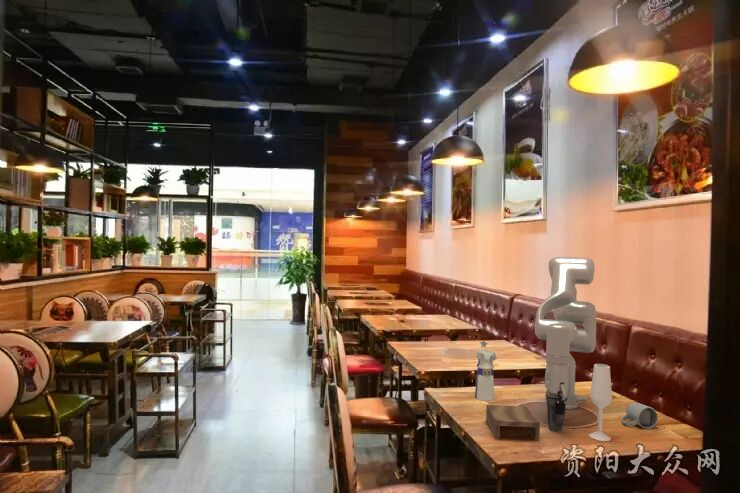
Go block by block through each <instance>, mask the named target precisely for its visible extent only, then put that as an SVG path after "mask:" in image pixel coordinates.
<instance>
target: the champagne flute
mask: <svg viewBox="0 0 740 493" xmlns="http://www.w3.org/2000/svg"><path fill="white" fill-rule="evenodd" d="M611 377H612V376H611V366H609V365H608V364H603V363H595V364H594V365H593V371H592V379H591V386H590V394H589V398H590V400H591V402H592V403H593V404H594V406H595V407H597V408H598V416H597V417H598V420H597V421H598V422H597V423H598V425H597V426H598V427H597V431H593V432H591V433H589V434H588V436H589V437H590V438H591V439H594V440H596V441H600V442H608V441H611V440H612V438H611V437H610V436H609V435H608V434H606V433H604V431H603V413H604V412H603V410H604V409H605V408H607V407H608V406H610V404H611V403H612V401H613V395H612V380H611Z"/></svg>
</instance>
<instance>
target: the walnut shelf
mask: <svg viewBox="0 0 740 493" xmlns="http://www.w3.org/2000/svg"><path fill="white" fill-rule="evenodd" d="M485 407H486V410H485V411H486V415H485V422H486V424H487V425H488V427H489V430H490V431H491V433H492V435H493V437H494V438H495V440H500V439H501V435H500V434H501V427H523V428H525V429H526V431H527V432H528V433H529V435H530V436H531V437H532V438H533V440H534V441H535V442H540V429H541V428H540V427H541V425H540V422H539V420H538V419H537V418H536V416H535V415H534V414H533V413H532V412H531V410H530V409H528V407H527V406H525V405H524V406H523V405H521V406H520V405H501V404H500V405H499V404H486V406H485Z"/></svg>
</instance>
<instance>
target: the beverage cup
mask: <svg viewBox="0 0 740 493" xmlns="http://www.w3.org/2000/svg"><path fill="white" fill-rule="evenodd" d="M558 393H561V392H558ZM544 395H545V399H546V401H547V404H546V407H547V424H548V426H547V427H548V430H550V431H551V432H556V433H562V432H563V429H564V423H565V421H564V420H565V415H556V414H555V402H556V394H552V393H551V392H550V391H549V389H546V391H545V394H544ZM558 397H561V396H558ZM567 399H568V397H566V403H567ZM566 403H565V407H566Z"/></svg>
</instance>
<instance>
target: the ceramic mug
mask: <svg viewBox="0 0 740 493" xmlns="http://www.w3.org/2000/svg"><path fill="white" fill-rule="evenodd" d="M625 413H626V414H625V415H623V416H622V417H621V423H622V425H624V426H625V427H633V426H636V425H637V426H639V427H640V428H643V429H646V430H651V429H654V427H655V426H656V425H657V423H658V420H659V415H658V413H657V411H656V410H655V409H654V407H652V406H649V405H645V404H642V403H639V402H631V403H630V404H628V406H626V410H625ZM627 420H629V421H627Z"/></svg>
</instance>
